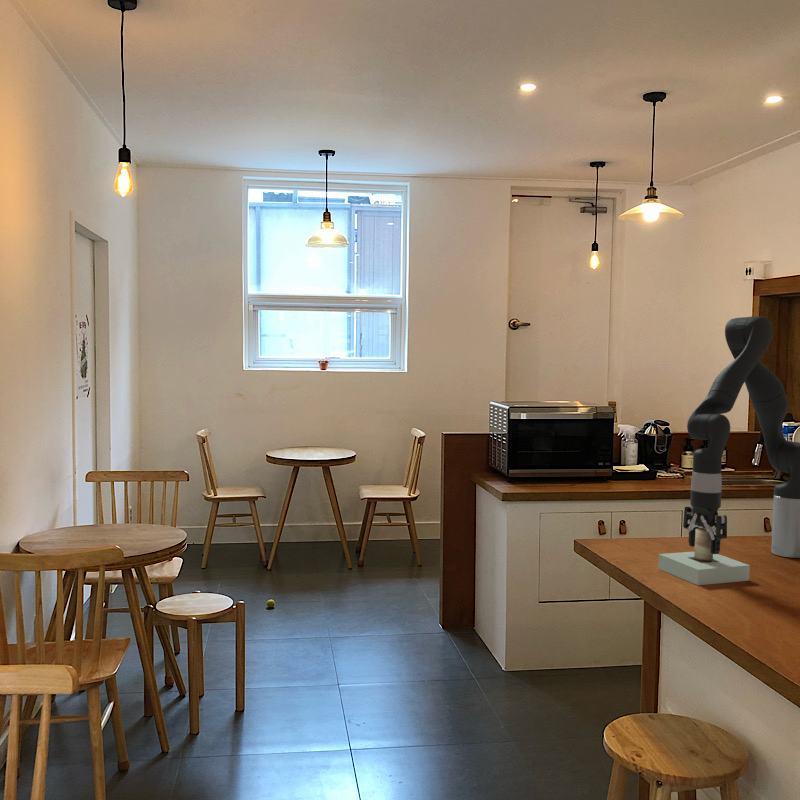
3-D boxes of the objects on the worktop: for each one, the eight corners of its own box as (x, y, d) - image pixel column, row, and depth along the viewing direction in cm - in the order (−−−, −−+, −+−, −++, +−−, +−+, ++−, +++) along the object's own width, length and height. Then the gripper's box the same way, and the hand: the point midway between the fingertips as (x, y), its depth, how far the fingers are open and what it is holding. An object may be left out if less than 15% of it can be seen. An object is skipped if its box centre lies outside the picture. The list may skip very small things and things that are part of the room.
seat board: (707, 564, 225) (707, 550, 224) (749, 580, 209) (749, 565, 209) (658, 568, 220) (658, 554, 219) (697, 585, 204) (698, 569, 204)
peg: (704, 571, 217) (706, 527, 217) (716, 576, 213) (718, 531, 212) (689, 572, 216) (691, 528, 215) (701, 577, 212) (703, 532, 211)
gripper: (736, 493, 208) (734, 555, 209) (699, 484, 221) (697, 542, 222) (712, 494, 205) (710, 557, 206) (676, 485, 219) (674, 544, 220)
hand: (703, 549), depth 214 cm, fingers open, 8 cm apart
